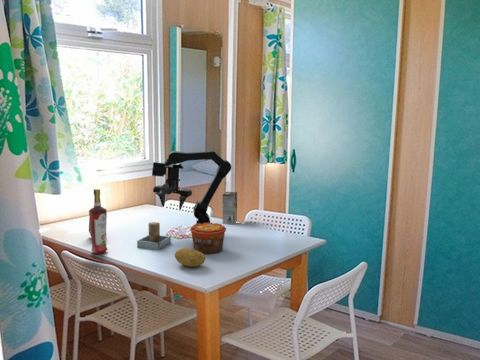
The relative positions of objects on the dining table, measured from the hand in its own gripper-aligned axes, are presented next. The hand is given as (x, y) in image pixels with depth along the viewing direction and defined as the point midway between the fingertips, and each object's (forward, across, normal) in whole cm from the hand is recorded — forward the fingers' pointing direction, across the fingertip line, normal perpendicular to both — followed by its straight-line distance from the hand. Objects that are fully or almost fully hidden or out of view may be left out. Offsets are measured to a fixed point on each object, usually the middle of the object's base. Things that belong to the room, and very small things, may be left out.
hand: (171, 208), depth 241 cm
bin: (+14, +2, -20) cm, 24 cm away
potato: (+13, +29, -40) cm, 51 cm away
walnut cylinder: (+13, +2, -20) cm, 23 cm away
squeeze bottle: (+16, -30, -18) cm, 38 cm away
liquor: (+15, -15, -38) cm, 43 cm away
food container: (+12, +28, -18) cm, 35 cm away
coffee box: (+11, +20, +32) cm, 40 cm away
